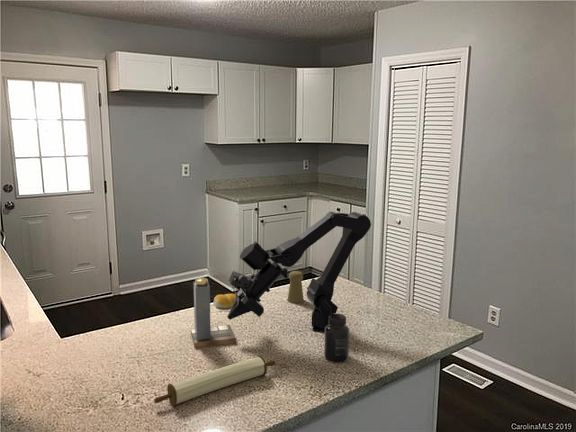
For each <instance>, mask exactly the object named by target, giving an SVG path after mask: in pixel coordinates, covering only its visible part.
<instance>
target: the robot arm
mask: <svg viewBox="0 0 576 432" xmlns="http://www.w3.org/2000/svg"><path fill="white" fill-rule="evenodd" d="M371 223H372V222H371V220H370V218H369V217H368V216H367V215H365V214H362V213H360V212H357V211H353V212H349V213H344V212H334V211H329V212H327V213H326V215H325V216H323V217H322V218H320V219H319V220H318V221H317V222H315V223H314V224H313V225H311V226H310V227H308V229H306V230H304V232H302V233H301V234H300V235H298V236H297V237H295V238H292V239H289V240H287V241H284V242H283V243H280V244H279V245H277V246H276V247H275V248H274V247H273V248H270V249H267V250H265V249H264V248H263V247H262V245H260V243H259V242H257V240H256V241H254V242H253V243H251V244H249V245H248V246H246V247H244V249H243V250H242V251H241V252H240V255H239V258H240V259H241V260H242V262H243V263H245V264H246V265H247V266H248V267H250V268H251V269H252V270H253V271H256V270H258V271H257V273H251V274H250V275H249V276H248V275H246V274H243V273H240V272H238V271H234V270H233V271H232V272H231V274H230V276H229V278H228V282H229V285H231V286H232V287H233V288H234V289H237V290H238V291H234V294H235V298H236V300H235V302H234V304H233V306H232V307H230V310H229V312H228V314H227V319H228V320H230V321H231V320H232V319H233V320H234V319H235V318H237V317H240V316H243V315H244V314H248V313H250V312H252V313H254V314H255V315H256V316H257V317H258V318H261V316H262V315H263V314H264V313H265V308H264V306H263V304H262V303H260V302H261V297H262V296H263V295H264V294H265V293H266V292H267V293H269V292H271V289H270V288H271V286H272V285H273V284H274V283H275V282H276V281H277V280H278V278H280V276H282V277H283V278H284V279H289V275H288V269H287V268H291V267H293V266H295V264H297V263H298V261H300V259H301V258H302V257H303V255H304V254H305V252H306V251H307V249H309V248H310V247H312V245H314V244H315V243H317V242H318V241H320V240H321V239H322V238H324V236H325V235H327V234H328V233H329V232H331V231H332V230H333V229H335V228H336V227H338V228H342V235H341V237H340V239H339V241H338V243H337V246H336V247H335V249H334V251H333V253H332V255H331V257H330V259H329V261H328V263H327V264H326V266H325V268H324V269H323V272H322V274H321V275H320V276H319V277H318V278H317V279H315V278H314V277H312V278H311V280H310V282H309V285H307V287H306V288H305V289H306V298H307V299H308V301H309V302H310V303H311V305H312V306H314V308H313V311H312V313H311V327H312V331H315V332H325V327H326V325H328V324H329V323H328V320H329V315H331V314H337V311H338V309H339V306H338V305H336V303H335V302H333V301H332V299H333V297H334V289H335V283H336V282H337V279H338V278H339V276H340V274H341V272H342V269H343V268H344V267H345V264H346V262H347V261H348V258H349V257H350V255H351V253H352V251H353V249H354V247H355V245H356V244H357V243H358V242H359V241H361V240H362V239H363V238H365V236H366V235H367V233H368V232H369V231H370V229H371V227H372V224H371ZM270 260H271V261H272V262H271V261H270Z"/></svg>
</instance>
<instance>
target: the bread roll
mask: <svg viewBox="0 0 576 432" xmlns="http://www.w3.org/2000/svg"><path fill="white" fill-rule="evenodd" d="M235 300H236V298H235V293H225V294H216V295H215V297H214V298H213V302H212V303H213V306H214V307H216V308H217V309H228V308H232V306H233V304H234V302H235Z"/></svg>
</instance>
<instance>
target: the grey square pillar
mask: <svg viewBox="0 0 576 432" xmlns="http://www.w3.org/2000/svg"><path fill="white" fill-rule="evenodd" d="M193 310H194V313H193V314H194V315H193V318H194V328H195V336H196V339H197V340H204V339H211V328H210V327H211V286H210V283H209V279H208V278H205V277H198V278H195V279H194V281H193Z"/></svg>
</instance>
